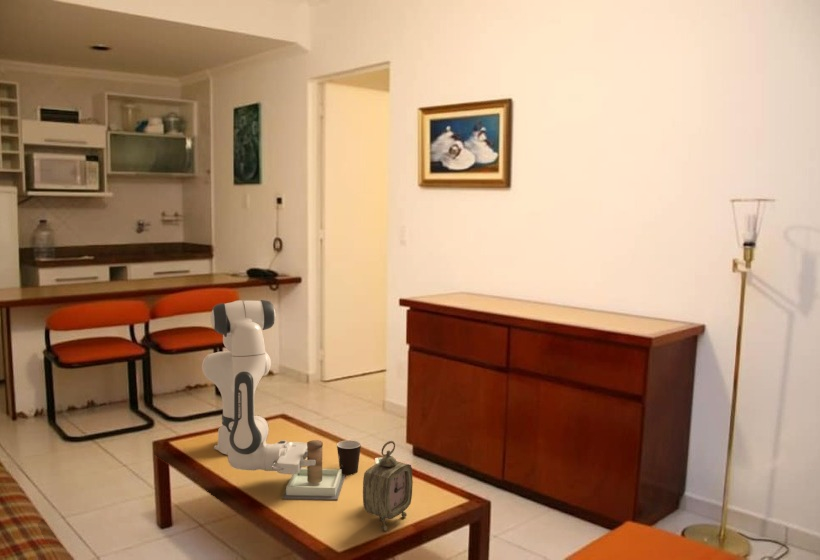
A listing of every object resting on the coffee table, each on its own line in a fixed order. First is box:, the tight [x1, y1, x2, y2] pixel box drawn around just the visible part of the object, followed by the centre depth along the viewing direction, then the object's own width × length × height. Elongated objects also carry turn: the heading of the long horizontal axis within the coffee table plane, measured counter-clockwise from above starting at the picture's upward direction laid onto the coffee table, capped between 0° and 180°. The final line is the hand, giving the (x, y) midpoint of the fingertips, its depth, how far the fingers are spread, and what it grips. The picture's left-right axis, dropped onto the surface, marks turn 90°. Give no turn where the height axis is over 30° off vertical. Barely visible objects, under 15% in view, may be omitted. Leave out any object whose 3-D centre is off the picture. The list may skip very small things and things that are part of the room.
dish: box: [285, 467, 343, 496], centre depth 228 cm, size 16×16×3 cm
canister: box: [306, 439, 324, 483], centre depth 227 cm, size 5×5×13 cm
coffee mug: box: [336, 439, 362, 476], centre depth 243 cm, size 12×9×10 cm
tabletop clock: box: [362, 440, 414, 532], centre depth 202 cm, size 14×9×25 cm, turn 148°
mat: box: [281, 474, 346, 501], centre depth 228 cm, size 20×18×1 cm
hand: (317, 458), depth 227 cm, fingers closed on canister, 5 cm apart
